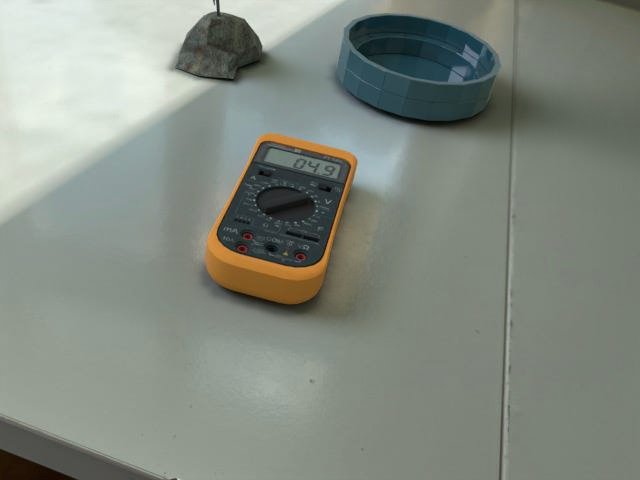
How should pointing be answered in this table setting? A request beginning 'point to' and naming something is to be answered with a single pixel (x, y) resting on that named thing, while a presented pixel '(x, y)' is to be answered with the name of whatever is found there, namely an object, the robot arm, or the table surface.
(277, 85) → the table surface
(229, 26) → the sword in stone
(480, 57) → the bowl
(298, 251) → the multimeter
